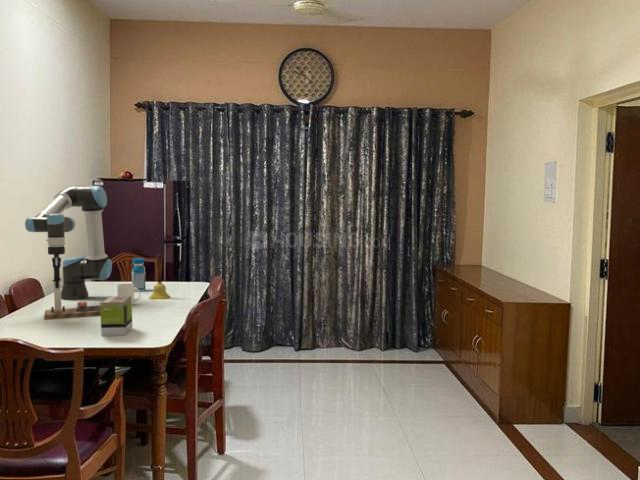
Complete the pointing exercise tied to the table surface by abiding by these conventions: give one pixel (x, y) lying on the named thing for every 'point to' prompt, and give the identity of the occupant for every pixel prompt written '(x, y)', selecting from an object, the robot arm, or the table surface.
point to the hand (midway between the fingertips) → (57, 294)
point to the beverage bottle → (138, 274)
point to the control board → (72, 312)
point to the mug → (127, 291)
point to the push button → (82, 304)
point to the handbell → (159, 283)
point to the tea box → (116, 315)
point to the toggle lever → (57, 299)
